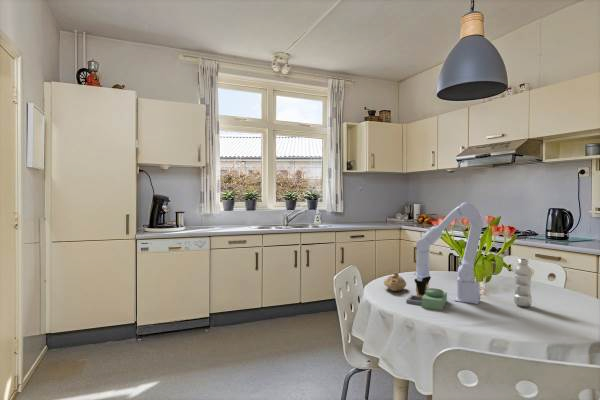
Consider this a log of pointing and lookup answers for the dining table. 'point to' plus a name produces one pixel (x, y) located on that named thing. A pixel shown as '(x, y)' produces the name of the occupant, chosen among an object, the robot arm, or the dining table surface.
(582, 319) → the dining table surface
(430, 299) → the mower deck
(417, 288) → the chute block
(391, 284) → the oil lamp
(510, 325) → the dining table surface
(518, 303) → the plastic bottle
